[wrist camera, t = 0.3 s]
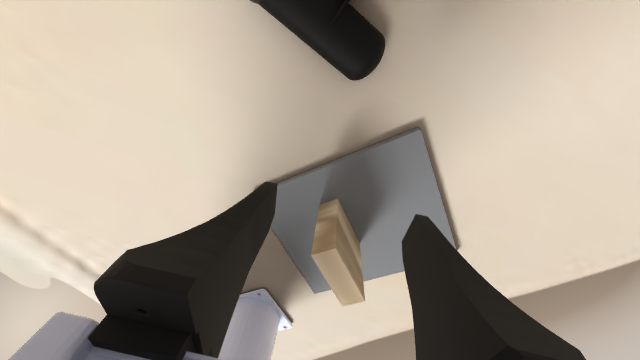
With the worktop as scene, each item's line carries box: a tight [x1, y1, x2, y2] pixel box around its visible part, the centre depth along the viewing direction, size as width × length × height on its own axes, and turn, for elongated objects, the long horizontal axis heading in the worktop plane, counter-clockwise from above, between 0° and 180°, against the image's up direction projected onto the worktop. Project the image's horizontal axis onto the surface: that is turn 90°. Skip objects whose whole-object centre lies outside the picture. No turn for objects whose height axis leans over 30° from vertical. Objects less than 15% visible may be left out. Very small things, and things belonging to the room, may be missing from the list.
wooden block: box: [311, 198, 365, 306], centre depth 22 cm, size 2×6×7 cm, turn 25°
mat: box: [271, 127, 456, 294], centre depth 26 cm, size 17×15×1 cm
